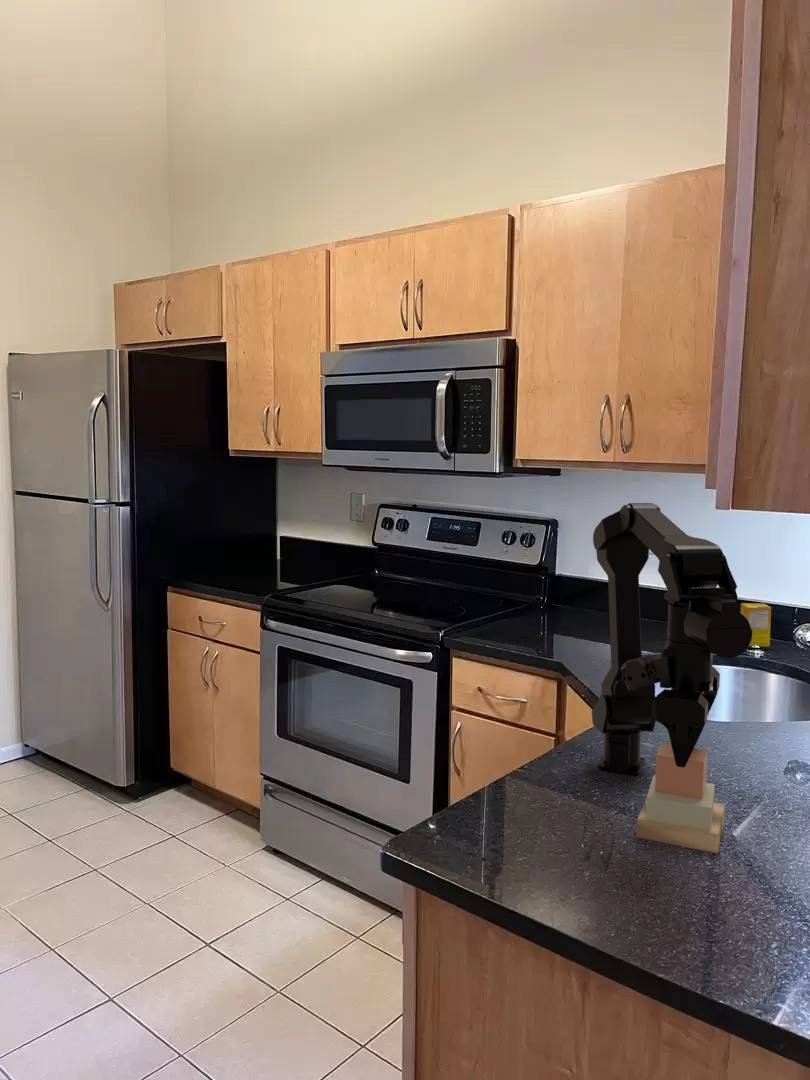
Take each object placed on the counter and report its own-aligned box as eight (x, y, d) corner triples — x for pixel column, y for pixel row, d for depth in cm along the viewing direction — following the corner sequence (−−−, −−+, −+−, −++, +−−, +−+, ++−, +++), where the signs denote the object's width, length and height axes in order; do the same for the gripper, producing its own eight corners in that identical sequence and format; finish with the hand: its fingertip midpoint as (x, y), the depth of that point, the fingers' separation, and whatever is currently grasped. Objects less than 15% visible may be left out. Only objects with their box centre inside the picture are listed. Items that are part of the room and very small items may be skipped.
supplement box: (762, 644, 214) (764, 603, 213) (769, 649, 208) (772, 607, 207) (738, 643, 215) (740, 602, 214) (745, 649, 209) (747, 606, 208)
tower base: (649, 811, 117) (649, 790, 117) (724, 825, 113) (725, 804, 112) (636, 841, 108) (637, 819, 108) (717, 857, 104) (718, 834, 103)
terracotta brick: (660, 777, 113) (661, 742, 113) (706, 785, 111) (707, 749, 110) (654, 790, 109) (655, 754, 109) (702, 799, 107) (703, 762, 106)
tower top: (653, 795, 115) (653, 775, 115) (713, 805, 112) (714, 784, 112) (646, 819, 108) (646, 797, 107) (710, 830, 105) (711, 807, 104)
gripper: (640, 620, 119) (636, 724, 121) (612, 648, 102) (608, 768, 104) (722, 627, 114) (717, 736, 116) (706, 658, 97) (701, 784, 99)
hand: (685, 754), depth 109 cm, fingers open, 9 cm apart
